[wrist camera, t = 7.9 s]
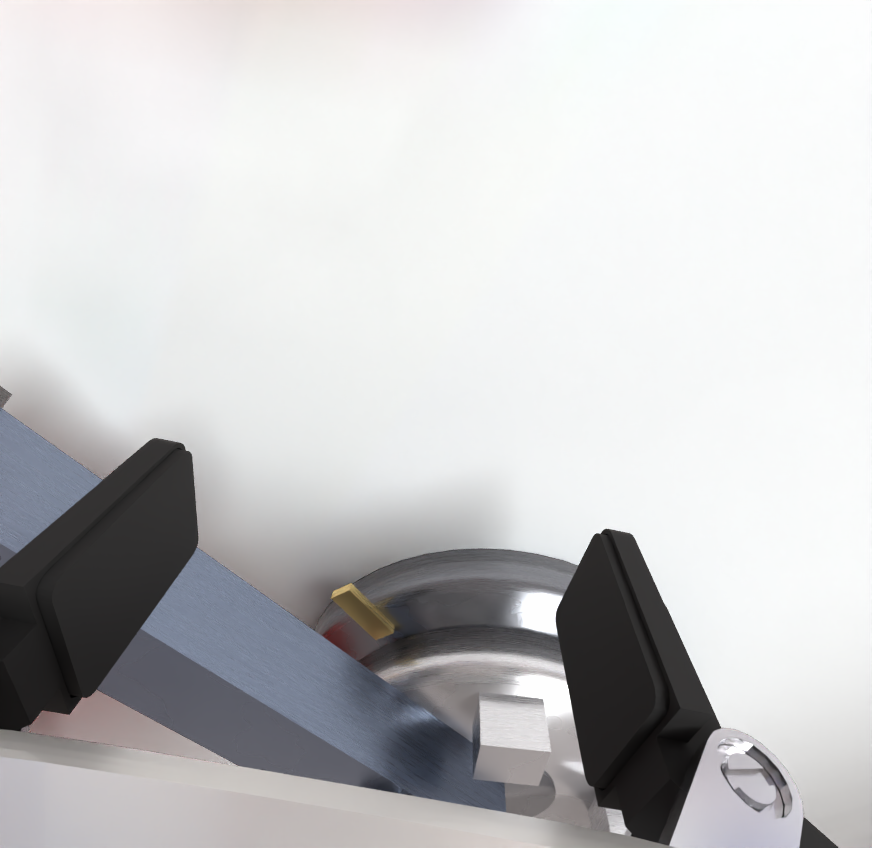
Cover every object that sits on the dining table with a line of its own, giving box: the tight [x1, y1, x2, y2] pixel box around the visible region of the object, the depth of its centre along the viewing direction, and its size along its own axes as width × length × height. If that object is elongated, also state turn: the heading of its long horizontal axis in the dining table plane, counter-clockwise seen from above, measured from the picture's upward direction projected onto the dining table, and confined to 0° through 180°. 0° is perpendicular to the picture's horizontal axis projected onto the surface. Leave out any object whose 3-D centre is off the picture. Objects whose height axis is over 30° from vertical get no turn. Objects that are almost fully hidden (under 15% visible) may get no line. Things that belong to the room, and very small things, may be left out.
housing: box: [314, 549, 578, 661], centre depth 20 cm, size 16×16×2 cm
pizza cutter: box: [0, 386, 627, 835], centre depth 14 cm, size 13×28×5 cm, turn 41°
